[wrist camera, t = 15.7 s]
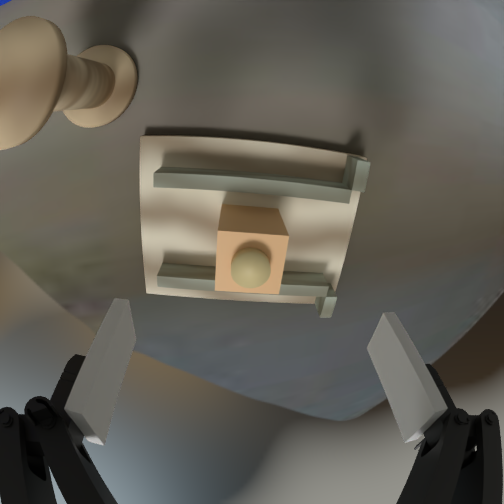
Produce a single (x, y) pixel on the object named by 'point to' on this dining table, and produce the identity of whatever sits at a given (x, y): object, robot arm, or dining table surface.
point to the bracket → (3, 2)
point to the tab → (250, 249)
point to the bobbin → (57, 81)
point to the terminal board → (246, 194)
